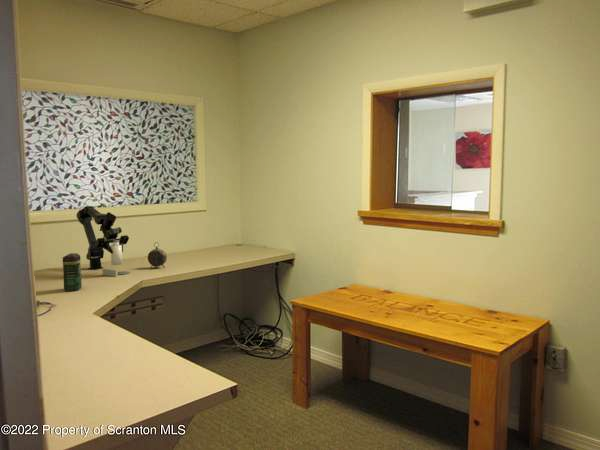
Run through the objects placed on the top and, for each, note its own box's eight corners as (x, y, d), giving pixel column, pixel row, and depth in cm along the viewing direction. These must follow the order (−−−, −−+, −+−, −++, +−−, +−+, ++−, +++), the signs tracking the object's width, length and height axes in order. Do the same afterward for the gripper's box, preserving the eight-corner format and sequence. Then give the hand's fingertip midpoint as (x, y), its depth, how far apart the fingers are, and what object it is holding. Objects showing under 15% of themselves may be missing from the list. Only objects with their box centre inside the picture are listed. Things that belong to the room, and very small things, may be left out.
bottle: (109, 264, 297) (108, 241, 295) (114, 263, 303) (113, 239, 301) (119, 265, 296) (118, 241, 294) (124, 263, 302) (123, 239, 300)
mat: (110, 274, 302) (110, 273, 302) (122, 271, 310) (122, 270, 310) (121, 275, 298) (121, 274, 298) (133, 272, 306) (133, 272, 306)
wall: (102, 274, 300) (102, 269, 300) (104, 274, 301) (103, 268, 301) (116, 276, 295) (115, 270, 295) (117, 276, 296) (117, 270, 296)
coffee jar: (79, 291, 260) (76, 255, 258) (62, 292, 259) (60, 255, 257) (83, 287, 269) (81, 252, 267) (67, 287, 268) (65, 252, 266)
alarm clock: (167, 267, 323) (166, 241, 321) (164, 268, 317) (163, 242, 315) (150, 267, 324) (149, 241, 322) (147, 268, 318) (145, 242, 317)
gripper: (96, 224, 293) (106, 245, 287) (126, 221, 306) (136, 242, 300) (90, 236, 299) (100, 257, 293) (121, 233, 313) (130, 253, 306)
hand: (117, 252), depth 298 cm, fingers closed on bottle, 6 cm apart
